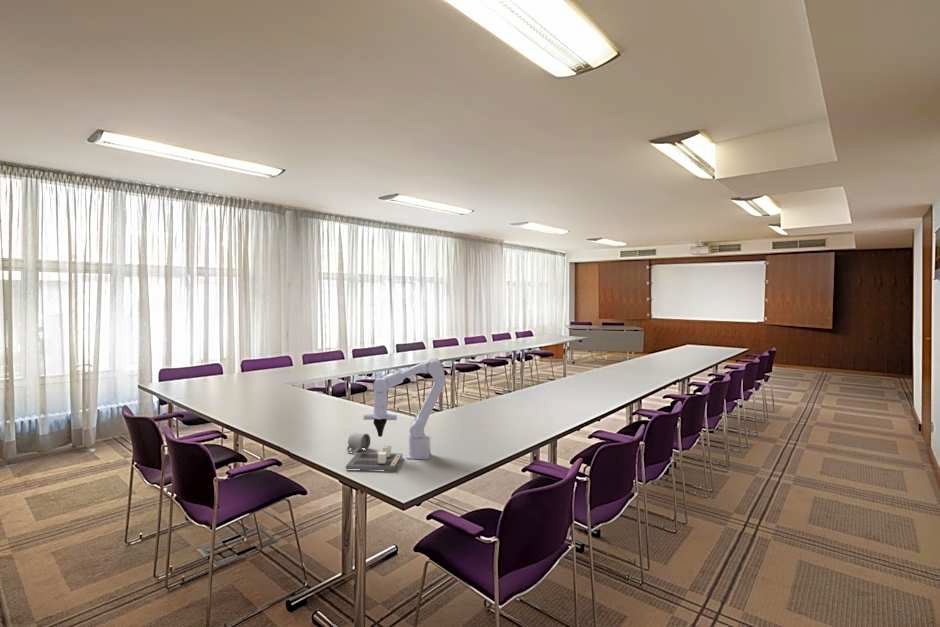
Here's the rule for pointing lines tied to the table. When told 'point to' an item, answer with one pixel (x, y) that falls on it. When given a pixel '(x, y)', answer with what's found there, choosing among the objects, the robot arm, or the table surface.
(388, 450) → the switch tab
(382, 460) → the switch tab
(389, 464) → the switch panel
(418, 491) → the table surface
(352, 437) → the ceramic mug
